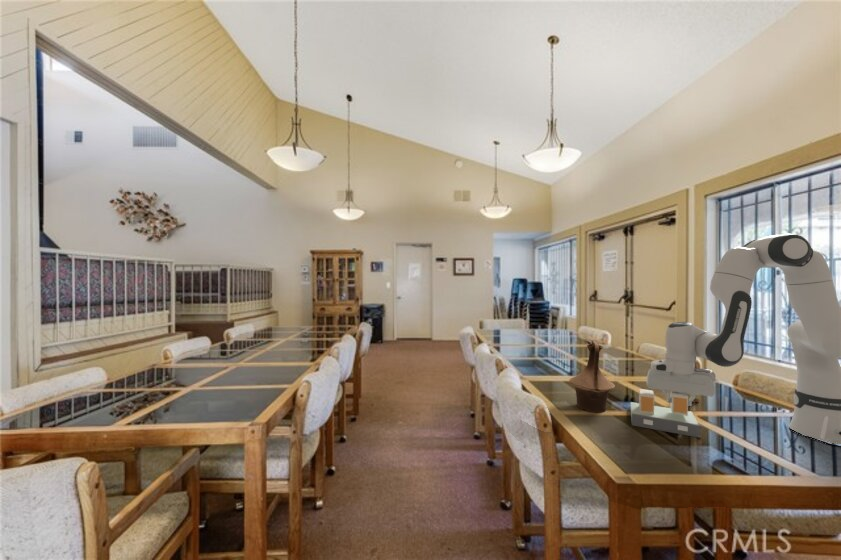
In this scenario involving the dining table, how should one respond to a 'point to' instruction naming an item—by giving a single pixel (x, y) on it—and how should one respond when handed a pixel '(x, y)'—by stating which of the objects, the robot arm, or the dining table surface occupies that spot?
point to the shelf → (665, 421)
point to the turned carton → (679, 403)
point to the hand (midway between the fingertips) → (678, 403)
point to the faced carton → (646, 401)
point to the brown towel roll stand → (592, 382)
